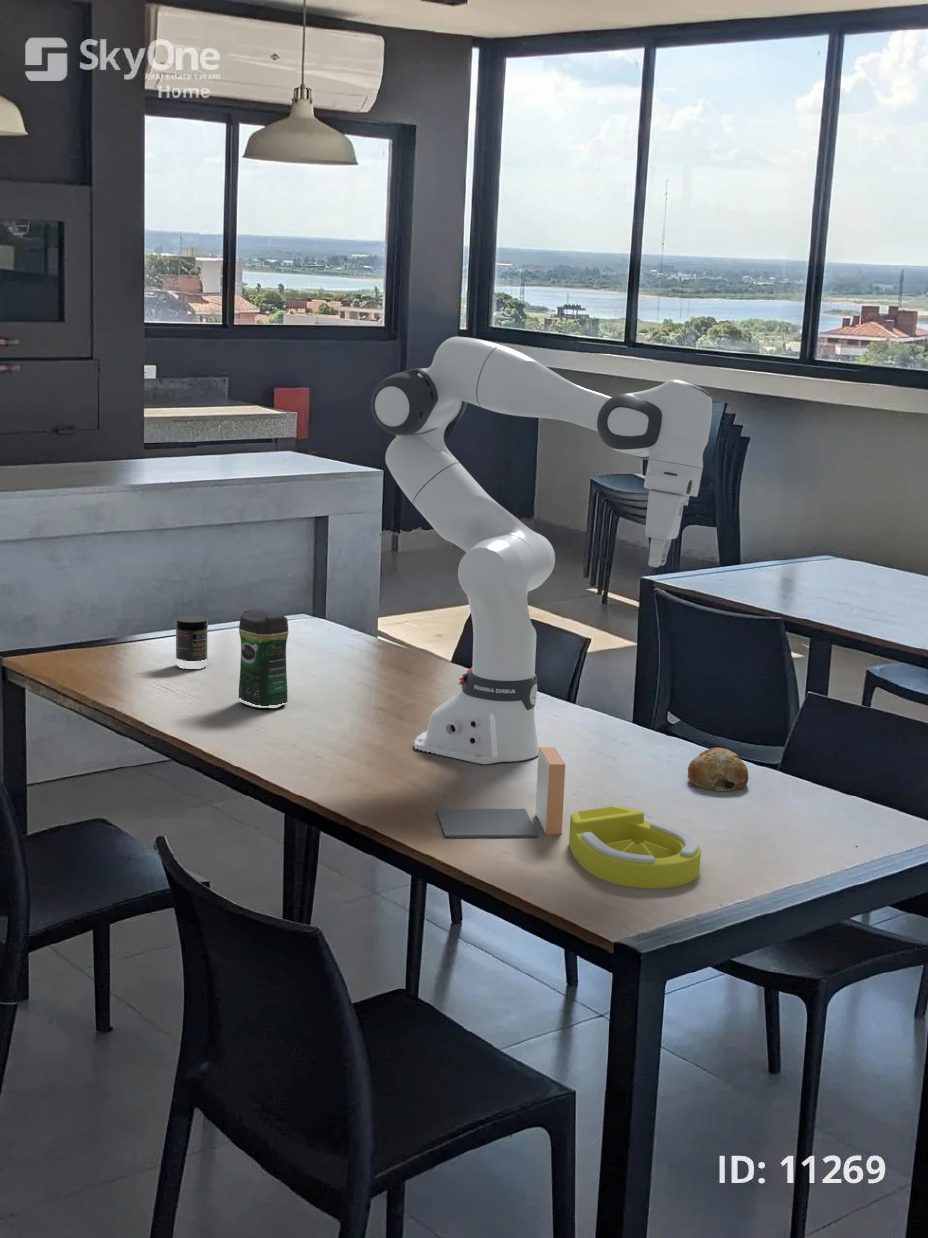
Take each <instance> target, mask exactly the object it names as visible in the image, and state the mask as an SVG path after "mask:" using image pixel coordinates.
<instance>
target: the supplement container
mask: <svg viewBox="0 0 928 1238" xmlns="http://www.w3.org/2000/svg"><path fill="white" fill-rule="evenodd" d="M208 621H209V620H208V618H207V617H205V616H198V615H183V616H179V617H176V618H175V659H176V658H177V659H179V660H183V661H201V660H205V659H207V660H208V626H209V625H208V624H209V622H208Z"/></svg>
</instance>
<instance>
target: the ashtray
mask: <svg viewBox="0 0 928 1238" xmlns="http://www.w3.org/2000/svg"><path fill="white" fill-rule="evenodd" d="M569 820H570V821H569V837H568V840H569V841H568V846H569V848H570V851H571V854H572V855H573V857H574V859H575V860H576V861H577V862H578V864H580V865H581V866H582V868H584V869H585V870H586V872H588V873H590V874H591V875H593V876H595V877H596V878H598V879H601V880H603V881H605V882H609V883H612V884H616V885H620V886H625V887H631V888H640V889H641V888H642V889H665V888H674V887H675V888H676V887H680V886H683V885H686V884H690V883H691V882H693V881H694V880H696V879H697V878H698V877H699V874H700V871H701V870H700V868H701V857H702V856H701V853H702V849H701V847H700V844H699V843H698V842H697V840H696V839H695V838H694V837H693V836H691V835H690V834H688V833H687V832H685V831H682V830H680V829H677V828H675V827H673V826H670V825H668V824H666V823H663V822H659V821H653V822H650V821H647V820H645V813H644V812H643V811H639V810H637V809H632V808H628V807H624V806H607V807H601V808H595V809H594V808H593V809H587V810H586V809H585V810H582V811H581V810H580V811H577V812H573V813H571V814H570V819H569Z"/></svg>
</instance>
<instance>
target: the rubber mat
mask: <svg viewBox="0 0 928 1238" xmlns="http://www.w3.org/2000/svg"><path fill="white" fill-rule="evenodd" d="M436 814H437V816H438V820H439V823H440V826H441V830H442V829H443V830H442V832H444V833H443V836H444V835H445V836H444V838H445V837H449V838H448V839H451V838H452V839H454V838H453V837H456V838H457V839H460V838H461V839H466V838H468V839H470V838H473V839H476V838H480V839H481V838H482V839H483V838H538V837H539V834H538V832H537V830H536V828H535V826H534V823H533V821H532V820H531V817H530V816H529V813H528V812H527V810H526V808H436ZM464 837H465V838H464ZM456 838H455V839H456Z"/></svg>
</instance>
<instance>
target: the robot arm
mask: <svg viewBox="0 0 928 1238" xmlns="http://www.w3.org/2000/svg"><path fill="white" fill-rule="evenodd" d="M712 399H713V398H712V396H711V394H710V393H709V392H708V391H707V390H706V389H705V388H703V387H700V386H697V385H695V384H693V383H690V382H687V381H684V380H682V379H676V378H673V379H668V380H667V381H665V382H664V383H662V384H660V385H657V386H655V387H651V388H650V389H649V388H648V389H645V390H640V391H637V392H636V391H635V392H628V393H622V394H617V395H614V396H609V395H605V394H603V393H600V392H597V391H595V390H594V391H593V390H591V389H587V388H585V387H582V386H580V385H577V384H575V383H573V382H571V381H570V380H568V379H566V378H564V376H563V377H562V376H561V375H560V374H559V373H557V372H555V371H554V370H552V369H550V368H549V367H547V366H545V365H544V364H542V363H540V362H539V361H537V360H535V359H534V358H532V357H530V356H528V355H527V354H524V353H523V352H520V351H518V350H516V349H513V348H511V347H508V346H506V345H502V344H499V343H497V342H491V341H488V340H484V339H480V338H473V337H467V336H466V337H465V336H453V337H449V338H447V339H446V340H444V341H443V342H441V344H440V345H439V346H438V347H437V350H436V352H435V353H434V356H433V359H432V363H431V365H430V366H429V367H426V368H425V367H424V368H423V367H422V368H419V367H418V368H417V367H416V368H412V369H408V370H405V371H401V372H397V373H394V374H391V375H390V376H388V377H386V378H385V379H383V380H382V381H380V382H379V383H378V384H377V385H376V387H375V388H374V389H373V392H372V395H371V399H370V409H371V414H372V417H373V419H374V421H375V423H376V425H378V426H379V427H380V428H381V429H382V430H384V431H385V432H387V433H389V434H391V435H395V437H394V439H393V440H392V441H391V442H390V443H389V445H388V447H387V449H386V452H385V465H386V467H387V468H388V470H389V472H390V474H391V476H392V477H393V479H394V480H395V482H396V484H397V485H398V486H399V488H400V489H401V491H402V492H403V494H404V495H405V496H406V498H407V499H408V500H409V501H410V503H411V504H412V505H413V506H414V508H416V510H417V511H418V512H419V513H420V515H422V517H424V519H425V520H426V521H427V522H428V523H429V525H430V526H431V527H432V528H433V529H434V530H435V532H436V533H437V534H438V535H439V536H440V537H441V538H443V539H444V540H445V541H447V542H450V543H452V544H454V545H455V546H457V547H458V548H459V549H461V550H463V551H464V552H465V553H464V555H463V556H462V557H461V560H460V562H459V564H458V568H457V578H458V583H459V585H460V587H461V589H462V590H463V592H464V593H465V594H466V596H467V601H468V605H469V610H470V615H471V616H470V617H471V620H472V621H471V622H472V632H473V633H472V634H473V636H472V637H473V639H472V641H473V643H472V667H471V668H469V669H468V670H466V673H463V674H462V675H461V677H460V678H458V680H459V682H458V685H459V686H460V685H461V691H459V692H458V693H456V694H455V695H453V696H452V697H450V698H449V699H447V700H446V701H445V702H443V703H441V704H440V705H439V706H438V707H437V708H435V709H434V711H433V712H431V713H432V714H431V715H430V718H429V721H428V725H427V730H426V731H424V732H422V733H420V734H419V735H417V737H416V738H415V739H414V741H413V748H414V747H415V748H416V749H419V750H418V751H420V750H422V751H421V752H425V751H426V752H425V753H429V752H431V754H434V753H435V754H434V755H438V756H445V757H448V758H452V759H458V760H462V761H466V762H471V763H475V764H481V765H490V764H495V763H496V764H497V763H502V762H503V763H504V762H506V763H507V762H519V761H526V760H530V759H533V758H535V757H538V751H539V747H540V745H539V741H538V736H537V729H536V722H535V721H536V718H535V706H536V703H537V696H538V695H537V694H538V683H537V681H538V679H537V677H538V676H537V674H536V673H535V672H536V651H537V650H536V648H537V631H536V628H535V627H534V625H533V623H532V621H531V617H530V611H529V606H528V605H529V604H528V594H529V592H531V591H533V590H535V589H538V588H539V587H540V586H542V585H543V584H544V583H545V582H546V580H547V579H548V578H549V577H550V575H551V574H552V572H553V570H554V567H555V563H556V552H555V550H554V548H553V545H552V543H551V542H550V541H549V540H548V538H547V537H545V536H543V535H542V534H541V533H538V532H536V531H534V530H533V529H531V528H529V527H528V526H527V525H525V524H524V523H523V522H522V521H520V519H519V518H517V516H514V514H513V513H511V512H510V511H508V510H507V509H505V507H503V506H502V505H501V504H499V503H498V502H497V501H496V500H495V499H494V498H492V497H491V495H489V494H488V493H487V492H486V491H485V490H484V488H483V487H482V486H481V485H480V484H479V482H477V481H476V479H474V477H473V476H472V475H471V473H469V472H468V471H467V470H466V468H465V467H464V466H463V464H461V463H460V461H459V460H458V459H457V458H456V457H455V456H454V455H453V454H452V453H451V451H450V450H449V448H448V447H447V445H446V443H445V440H444V438H447V437H450V436H451V435H452V434H453V433H454V430H455V429H456V425H457V424H458V422H459V421H460V419H461V417H462V416H463V414H464V413H465V411H466V409H467V406H468V404H471V405H474V406H477V407H480V408H483V409H485V410H488V411H491V412H495V413H499V414H503V415H510V416H514V417H515V416H516V417H523V418H524V417H526V418H527V417H528V418H538V419H549V420H550V419H551V420H558V421H559V420H560V421H563V422H568V423H572V424H574V425H578V426H581V427H583V428H585V429H589V430H592V431H595V432H597V433H598V436H599V437H600V439H601V440H602V442H603V443H604V444H605V445H606V446H608V447H609V448H610V449H613V450H614V451H617V452H619V453H623V454H626V455H631V456H634V457H637V458H638V459H639V458H640V459H641V460H646V461H647V466H646V467H647V468H646V472H645V477H644V478H645V479H644V483H643V487H644V488H645V489H647V490H649V492H648V496H647V497H648V499H647V509H646V517H645V518H646V520H645V535H646V538H651V539H650V542H649V543H650V544H649V556H648V561H647V563H648V564H647V565H648V566H649V567H652V568H659V567H660V566H664V565H666V562H667V557H668V553H669V551H670V546H671V544H672V540H675V539H677V538H678V537H679V533H680V529H681V528H680V527H681V523H682V522H681V521H682V516H683V510H684V506H688V505H689V502H690V501H689V500H690V497H695V498H697V497H698V494H699V490H700V485H701V480H702V473H703V469H704V460H703V459H704V458H703V457H704V456H703V455H704V451H705V448H706V446H707V445H708V442H709V437H710V431H711V424H712V417H713V400H712ZM415 748H414V749H415ZM416 749H415V750H416Z"/></svg>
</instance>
